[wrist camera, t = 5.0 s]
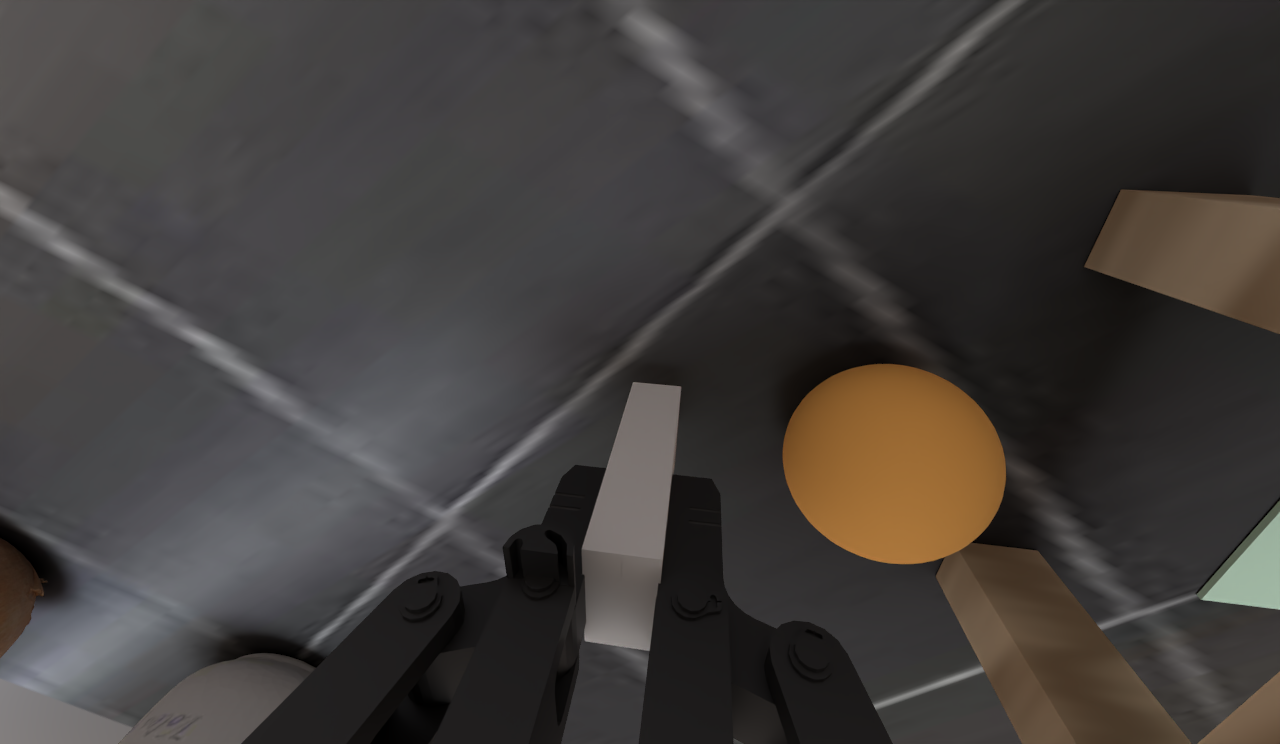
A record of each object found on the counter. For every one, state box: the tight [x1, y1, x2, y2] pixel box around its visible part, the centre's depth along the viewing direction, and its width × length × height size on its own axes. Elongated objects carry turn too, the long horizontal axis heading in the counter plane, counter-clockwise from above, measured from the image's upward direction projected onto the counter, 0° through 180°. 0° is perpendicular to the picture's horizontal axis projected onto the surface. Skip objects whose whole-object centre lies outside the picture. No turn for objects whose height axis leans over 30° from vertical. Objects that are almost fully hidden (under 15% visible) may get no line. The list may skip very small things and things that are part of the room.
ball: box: [783, 364, 1006, 564], centre depth 13 cm, size 6×6×6 cm
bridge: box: [936, 189, 1280, 744], centre depth 11 cm, size 3×14×9 cm, turn 178°
